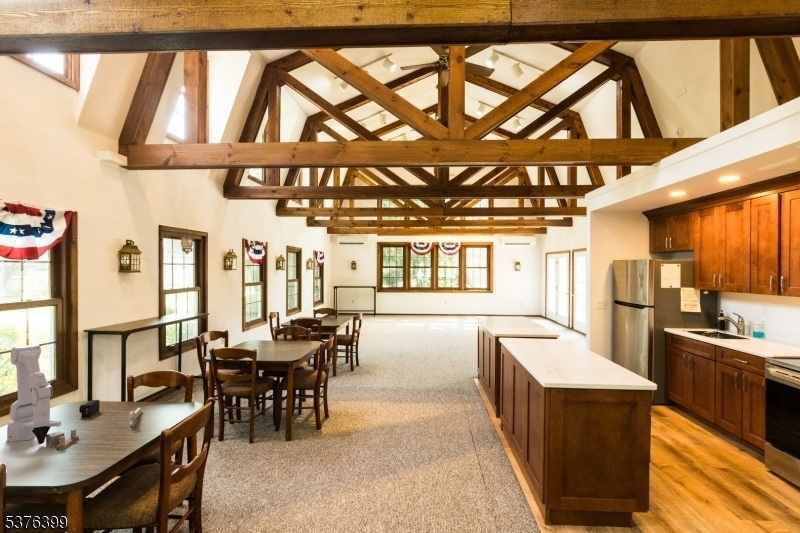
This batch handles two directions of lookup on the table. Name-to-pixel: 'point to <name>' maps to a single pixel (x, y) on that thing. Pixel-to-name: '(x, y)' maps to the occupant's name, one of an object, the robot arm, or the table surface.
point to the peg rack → (69, 441)
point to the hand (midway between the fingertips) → (41, 443)
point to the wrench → (134, 416)
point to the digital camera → (89, 409)
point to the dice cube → (53, 439)
